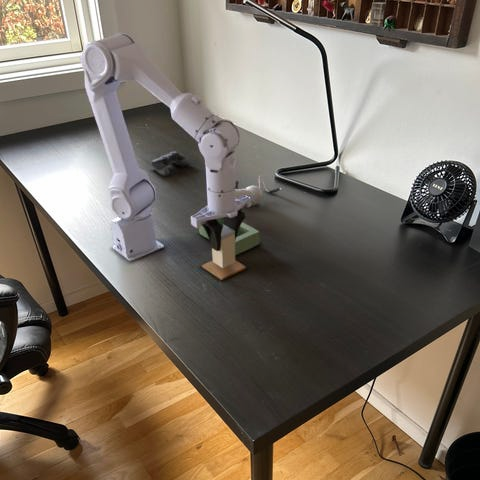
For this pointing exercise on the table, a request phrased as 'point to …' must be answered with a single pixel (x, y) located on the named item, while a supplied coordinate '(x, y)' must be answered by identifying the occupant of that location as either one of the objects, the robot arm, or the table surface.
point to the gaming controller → (168, 162)
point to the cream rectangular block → (225, 248)
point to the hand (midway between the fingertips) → (223, 245)
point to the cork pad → (223, 269)
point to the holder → (240, 236)
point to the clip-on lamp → (253, 192)
